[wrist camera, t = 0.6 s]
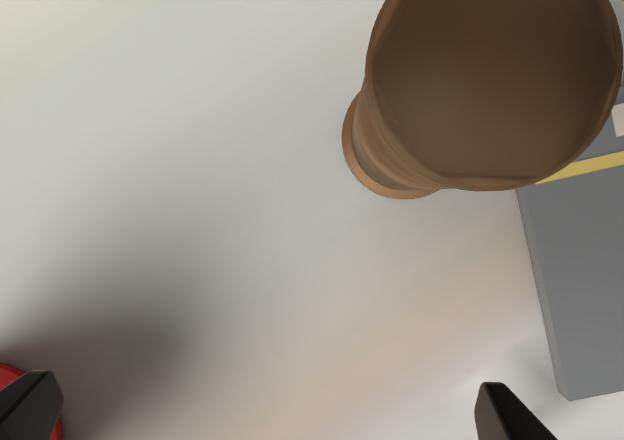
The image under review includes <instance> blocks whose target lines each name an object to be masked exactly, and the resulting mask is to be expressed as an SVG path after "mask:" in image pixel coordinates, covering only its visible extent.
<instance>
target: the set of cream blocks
mask: <svg viewBox="0 0 624 440" xmlns="http://www.w3.org/2000/svg"><path fill="white" fill-rule="evenodd" d="M611 112H612V117H613V122H614V127H615V132H616V137H618V136H623V135H624V103H621V104H618V105H615V106H613V109H612V111H611Z"/></svg>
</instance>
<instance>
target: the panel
mask: <svg viewBox="0 0 624 440" xmlns="http://www.w3.org/2000/svg"><path fill="white" fill-rule="evenodd" d="M621 103H624V86H620V88H619V91H618V95H617V98H616V102H615V104H614V106H615V105H618V104H621ZM516 192H517V196H518V201H519V206H520V211H521V215H522V220H523V225H524V230H525V234H526V239H527V244H528V249H529V253H530V258H531V263H532V268H533V272H534V277H535V282H536V287H537V291H538V296H539V301H540V306H541V310H542V315H543V320H544V325H545V329H546V334H547V339H548V343H549V348H550V353H551V358H552V362H553V367H554V372H555V377H556V381H557V386H558V391H559V393H560V394H561V395H562V396H564V397H565V398H566V399H567V400H568V401H574V400H579V399H584V398H589V397H594V396H599V395H604V394H609V393H615V392H620V391H624V135H623V136H618V137H616V132H615V127H614V122H613V117H612V112H611V114H610V116H609V118H608V120H607V121H606V123H605V125H604V126H603V128H602V130H601V132H600V133H599V134H598V136H597V137H596V138H595V139H594V141H593V142H592V143H591V145H590V146H589V147H588V148H587V149H586V150H585V151H584V152H583V153H582V154H581V155H580V156H579V157H578V158H577V159H575V160H574V161H573V162H571V163H570V164H569V165H568V166H566V167H565V168H564V169H562V170H560V171H559V172H557V173H555V174H554V175H552V176H550V177H548V178H546V179H543V180H541V181H539V182H536V183H534V184H530V185H527V186H524V187H520V188H516Z"/></svg>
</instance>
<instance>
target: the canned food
mask: <svg viewBox="0 0 624 440" xmlns="http://www.w3.org/2000/svg"><path fill="white" fill-rule="evenodd" d="M24 374H25V372H23V371H22V370H19V369H17V368H14V367H12V366H9V365H5V364H0V391H1V390H2V389H3V388H5V387H6V386H8V385H9V384H11V383H12V382H14V381H15V380H16V379H18V378H19V377H21V376H22V375H24ZM62 438H63V435H62V426H61V421H60V417H58V419H57V422H56V425H55V427H54V430H53V432H52V435H51V438H50V440H62Z"/></svg>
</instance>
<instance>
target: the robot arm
mask: <svg viewBox="0 0 624 440" xmlns="http://www.w3.org/2000/svg"><path fill="white" fill-rule="evenodd" d="M62 406H63V394H62V391H61V389H60V387H59V384H58V382H57V380H56V377H55V375H54V373H53V372H52V371H50V370H30V371H28V372H27V373H25V374H24V375H22V376H21V377H19V378H18V379H16V380H15V381H14V382H12V383H11V384H9V385H8V386H6V387H5V388H3V389H2V390H1V391H0V440H50V438H51V435H52V432H53V430H54V427H55V425H56V422H57V419H58V417H59V414H60V412H61V409H62ZM474 414H475V422H476V428H477V433H478V438H479V440H557V438H556V437H555V436H554V435H553V434H552V433H551V432H550V431H549V430H548V429H547V428H546V427H545V426H544V425H543V424H542V423H541V422H540V421H539V420H538V419H537V417H536V416H535V415H534V414H533V413H532V412H531V411H530V410H529V409H528V408H527V407H526V406H525V405H524V404H523V403H522V402H521V401H520V400H519V399H518V398H517V396H516V395H515V394H514V393H513V392H512V391H511V390H510V389H509V388H508V387H507V386H506V385H505V384H503V383H501V382H483V383H482V384H481V386H480V389H479V393H478V397H477V401H476V405H475V411H474Z"/></svg>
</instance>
